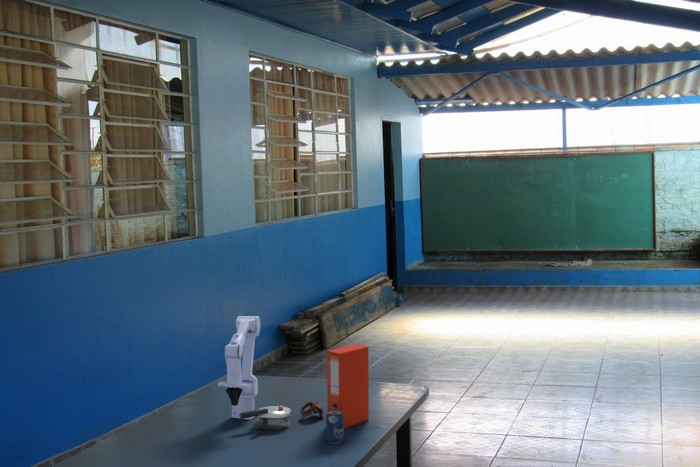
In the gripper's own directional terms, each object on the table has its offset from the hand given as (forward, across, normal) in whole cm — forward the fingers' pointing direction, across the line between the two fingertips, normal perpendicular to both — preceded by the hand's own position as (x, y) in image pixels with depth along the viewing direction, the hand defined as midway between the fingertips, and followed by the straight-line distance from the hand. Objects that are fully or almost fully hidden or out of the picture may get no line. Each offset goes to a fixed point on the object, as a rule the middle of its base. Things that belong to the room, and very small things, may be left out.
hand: (234, 405), depth 349 cm
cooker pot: (+10, +12, +9) cm, 18 cm away
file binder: (+11, +40, +26) cm, 49 cm away
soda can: (+11, +45, +2) cm, 46 cm away
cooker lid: (+5, +10, +8) cm, 14 cm away
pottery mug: (+11, +23, +27) cm, 37 cm away
